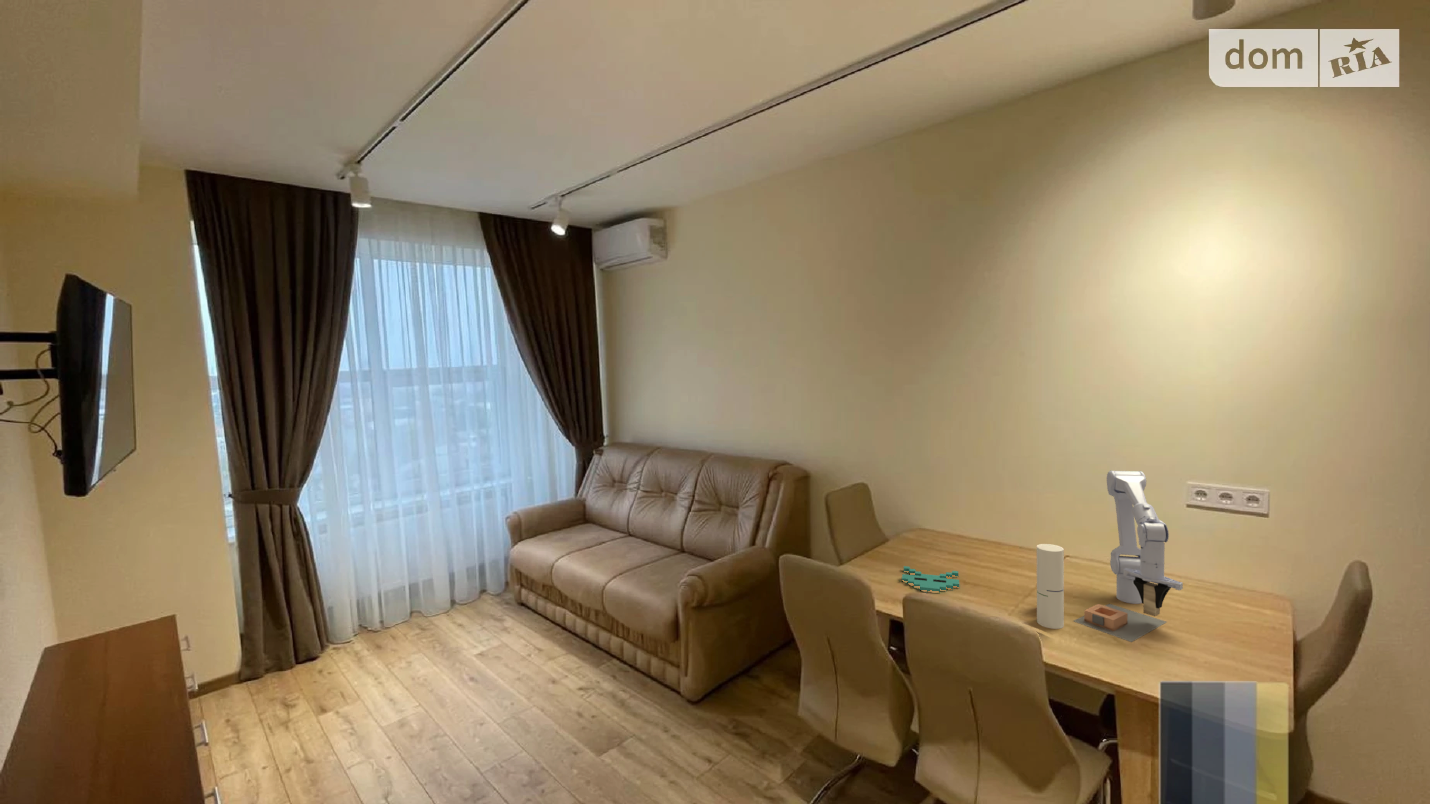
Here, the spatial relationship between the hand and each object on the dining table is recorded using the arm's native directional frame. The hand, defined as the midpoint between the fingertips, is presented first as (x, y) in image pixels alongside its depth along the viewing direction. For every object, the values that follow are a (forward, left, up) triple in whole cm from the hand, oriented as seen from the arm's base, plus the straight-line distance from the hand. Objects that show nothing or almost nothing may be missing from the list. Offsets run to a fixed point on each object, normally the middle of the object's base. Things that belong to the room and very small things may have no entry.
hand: (1151, 605), depth 170 cm
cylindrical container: (+24, -17, -7) cm, 30 cm away
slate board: (+6, -6, -7) cm, 11 cm away
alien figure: (+25, -61, -8) cm, 66 cm away
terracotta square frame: (+10, -8, -6) cm, 14 cm away
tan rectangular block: (0, 0, -3) cm, 3 cm away
